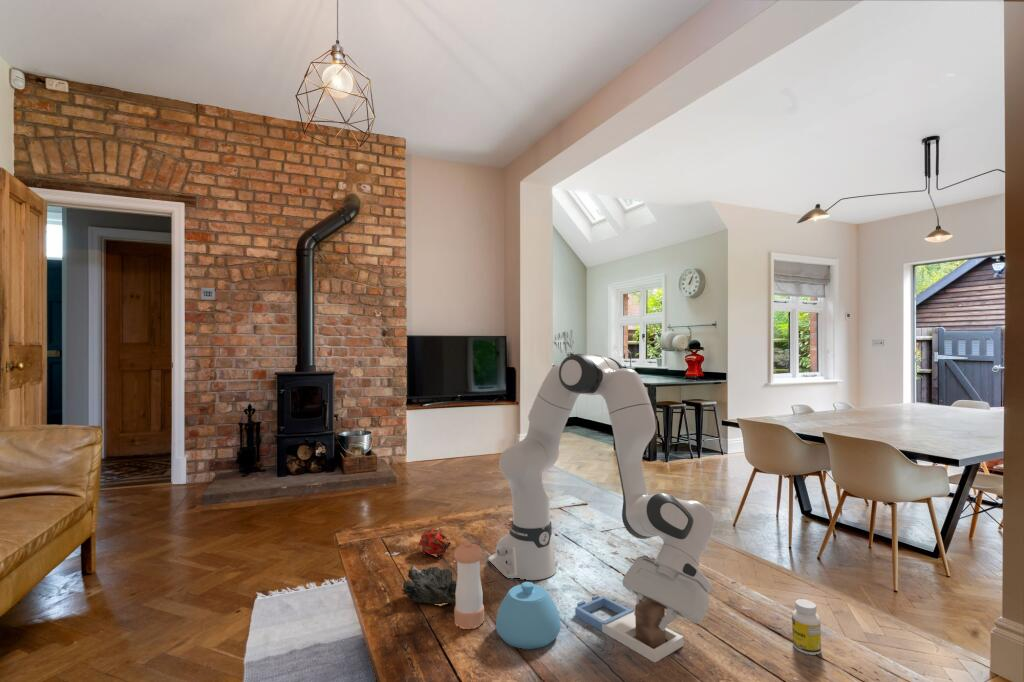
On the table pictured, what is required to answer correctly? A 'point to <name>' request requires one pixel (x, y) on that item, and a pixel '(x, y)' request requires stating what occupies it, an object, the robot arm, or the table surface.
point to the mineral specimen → (430, 585)
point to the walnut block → (649, 623)
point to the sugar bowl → (528, 617)
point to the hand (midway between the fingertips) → (648, 622)
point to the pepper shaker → (468, 586)
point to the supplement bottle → (806, 627)
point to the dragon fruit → (434, 542)
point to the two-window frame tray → (626, 628)
